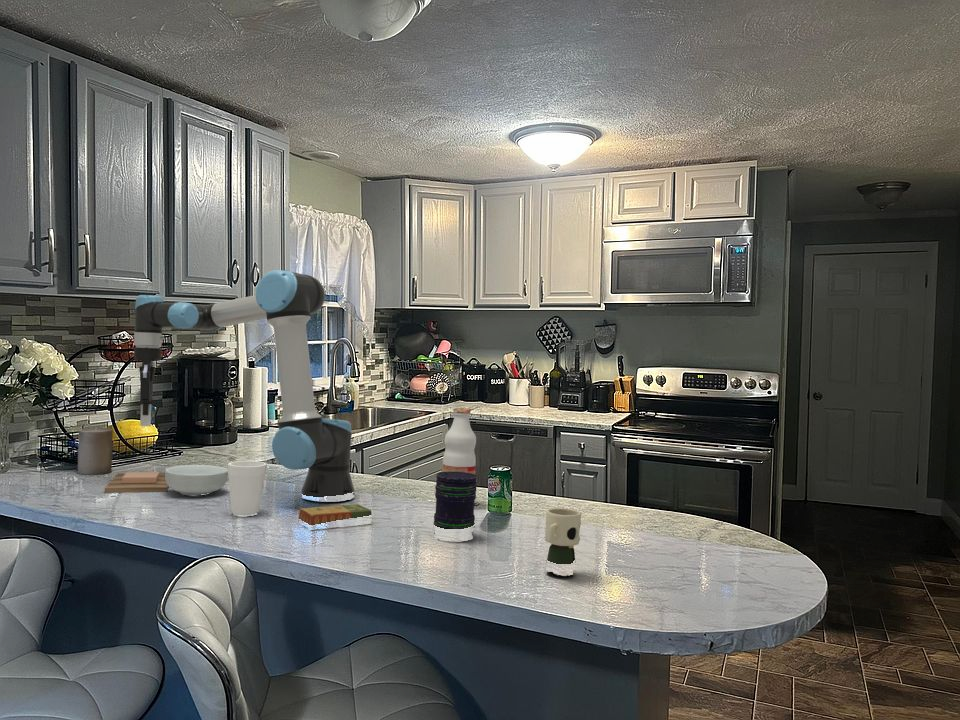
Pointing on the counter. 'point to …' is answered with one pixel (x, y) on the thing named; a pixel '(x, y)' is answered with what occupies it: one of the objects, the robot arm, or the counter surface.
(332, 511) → the brown and green block
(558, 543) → the character mug
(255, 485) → the foam cup
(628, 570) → the counter surface
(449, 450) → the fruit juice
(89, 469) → the pillar candle
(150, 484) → the board
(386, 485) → the counter surface
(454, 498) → the storage jar
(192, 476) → the cereal bowl
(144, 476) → the tile
